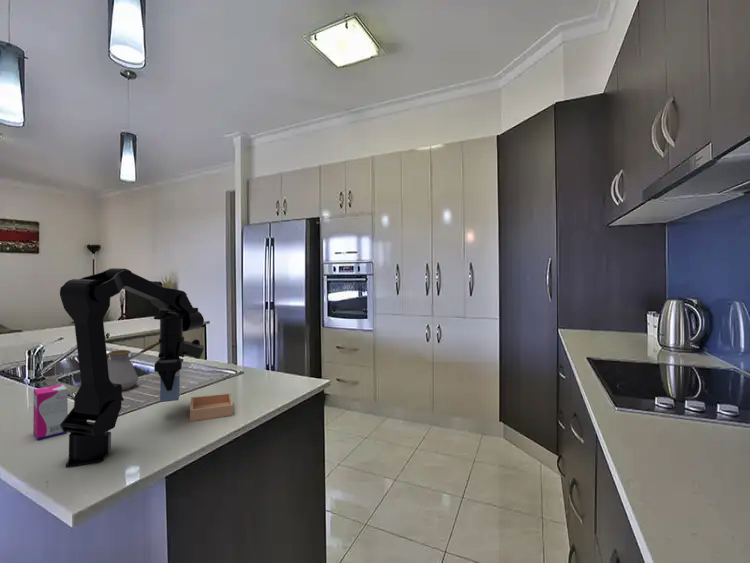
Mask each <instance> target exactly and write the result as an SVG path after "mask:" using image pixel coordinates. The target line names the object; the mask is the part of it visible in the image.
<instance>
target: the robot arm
mask: <svg viewBox="0 0 750 563" xmlns="http://www.w3.org/2000/svg"><path fill="white" fill-rule="evenodd" d="M122 290H125V291H127V292H130V293H132V294H134V295H137V296H140V297H143V298H144V299H147V300H149V301H150V303H151V304H152V305H153V306H155V307H156V308H157V309H159V310H160V311H159V312H158V313H157V314H155V315H154V317H153V320H159V338H158V342H159V343H160V344H159V348H158V350H159V352H158V359H156V361H155V363H154V372H156V373H157V374H158V375H159V377H160V380H161V379H162V381H163V383H164V385H165V387H166V389H167V391H171V390H172V387H173V383H174V378H175V374H176V372H177V371H179V370H180V371H181V370H182V367H183V362H184V358H185V356H189V357H192V358H194V359H201V356H202V355H203V352H204V350H205V346H204V345H203V344H201V342H200V339H196V338H195V339H193V340H192V341H186V340H185V336H184V334H183V333H184V332H189V331H193V330H198V329H200V328H201V327H203V325H204V322H205V319H204V316H203V314H202V313H201V312H200V311H199V307H193V304H192V303H191V301H190V300H189V297H188V294H187V293H186V292H185V291H184V290H180V289H176V288H170V287H163V286H161V285H159V284H157V283H155V282H153V281H152V280H149V279H146V278H144V277H142V276H141V275H139V274H136V273H134V272H132V271H131V270H129V269H127V268H121V267H119V268H116V267H114V268H113V267H112V268H108V269H106V270H104V271H102V272H98V273H94V274H90V275H87V276H83V277H81V278H72V279H68V281H67V280H66V282H65V283H64V284H62V286H61V287H60V289H59V296H60V300H61V303H62V306H63V310H65V312H66V313H67V315H68V316H69V317H70V318H71V319H72V321H73V323H74V333H75V340H76V341H75V342H76V348H77V356H78V357H77V358H78V366H79V375H80V386H79V388H78V390H77V391H76V393H75V396H74V401H73V407H72V409H71V410H70V412H69V413H68V415H67V417H66V418H65V419H64V420H63V422H62V423H61V424H60V426H61V428H62V431H63V432H67V433H69V434H68V460H67V462H65V467H66V468H69V467H75V466H76V467H77V466H82V465H88V464H93V463H100V462H103V461H104V460H105V459H106V456H107V455H108V454H109V453H110V451H111V448H112V447H111V446H112V431H110V430H112V429H115V427H116V424H117V420H118V419H119V414H120V411H121V409H122V403H123V402H124V400H125V399H124V398H123V394H122V393H123V391H122V386H121V384H115V383H112V382H111V381H110V379H109V372H108V362H109V361H108V353H107V344H106V343H107V342H106V334H105V326H104V325H105V324H104V317H105V316H106V314H107V312H108V310H109V308H110V306H111V298H112V297H114V296H116V295H118V294H120V293H121V292H122ZM180 357H182V358H180Z"/></svg>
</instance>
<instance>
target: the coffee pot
mask: <svg viewBox="0 0 750 563" xmlns="http://www.w3.org/2000/svg"><path fill="white" fill-rule="evenodd" d="M156 346H160V343H159V341H156V342H155V343H154V344H151V345H149V346H148V347H146V348H144V349H142V350H140V351H139V352H137V353H135V354H132V355H131V356H129V355H130V353H131V350H127V349H123V350H122V349H121V350H112V351H109V352H108V353H107V355H109V361H107V362H108V372H109V379H110V381H111V382H112V383H115V384H121V386H122V392H123V391H127V390H129V389H131V388H132V387H133V386H134V385H136V384H137V383H138V381H139V376H138V374H137V372H136V370H135V368H134V366H133V364H132V361H131V360H132V359H134V358H136V357H137V356H139V355H141V354H144V353H145V352H147V351H150V350H151V349H154V348H155V347H156Z"/></svg>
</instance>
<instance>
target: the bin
mask: <svg viewBox="0 0 750 563" xmlns="http://www.w3.org/2000/svg"><path fill="white" fill-rule="evenodd" d="M232 399H233V398H232V393H220V394H211V395H203V396H193V397H191V398H190V405H189V406H190V407H189V422H196V421H204V420H212V419H218V417H219V418H225V417H224V416H226V417H231V416H230V415H233V416H234V403H233V400H232Z"/></svg>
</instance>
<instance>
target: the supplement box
mask: <svg viewBox="0 0 750 563" xmlns="http://www.w3.org/2000/svg"><path fill="white" fill-rule="evenodd" d="M68 396H69V395H68V387H67V386H65V385H64V384H63V383H62V384H57V385H50V386H45V387H39V388H34V389H33V407H32V408H33V418H32V420H33V421H32V422H33V426H32V427H33V430H32V431H33V434H34V437H35V439H36V440H37V441H40V440H45V439H49V438H52V437H57V436H61V435H64V434H68V432H63V431H62V428H61V426H60V424H61V423H62V422H63V420H64V419H65V418H66V417H67V415H68V414H69V413H68V409H69V408H68V406H69V405H68V401H69V399H68Z"/></svg>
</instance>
